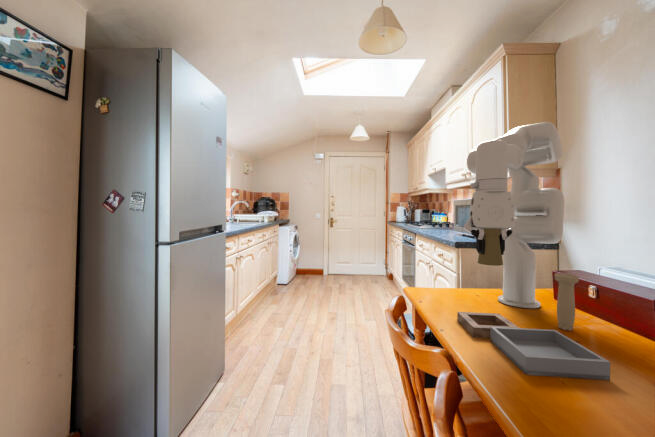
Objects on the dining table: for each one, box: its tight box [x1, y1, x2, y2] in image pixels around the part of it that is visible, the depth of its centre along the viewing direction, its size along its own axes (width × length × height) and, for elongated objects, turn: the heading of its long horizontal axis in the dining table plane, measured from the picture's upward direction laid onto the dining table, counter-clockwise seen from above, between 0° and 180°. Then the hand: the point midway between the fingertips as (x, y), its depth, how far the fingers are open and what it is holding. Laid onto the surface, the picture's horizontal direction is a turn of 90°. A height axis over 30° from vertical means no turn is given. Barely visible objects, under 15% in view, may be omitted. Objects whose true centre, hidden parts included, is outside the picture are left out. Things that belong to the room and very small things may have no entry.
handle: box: [554, 272, 580, 332], centre depth 77 cm, size 5×6×15 cm
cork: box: [477, 228, 504, 267], centre depth 76 cm, size 6×6×11 cm
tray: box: [489, 327, 611, 381], centre depth 61 cm, size 15×15×4 cm
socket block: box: [456, 311, 520, 339], centre depth 77 cm, size 12×12×2 cm
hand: (490, 253), depth 76 cm, fingers closed on cork, 4 cm apart
